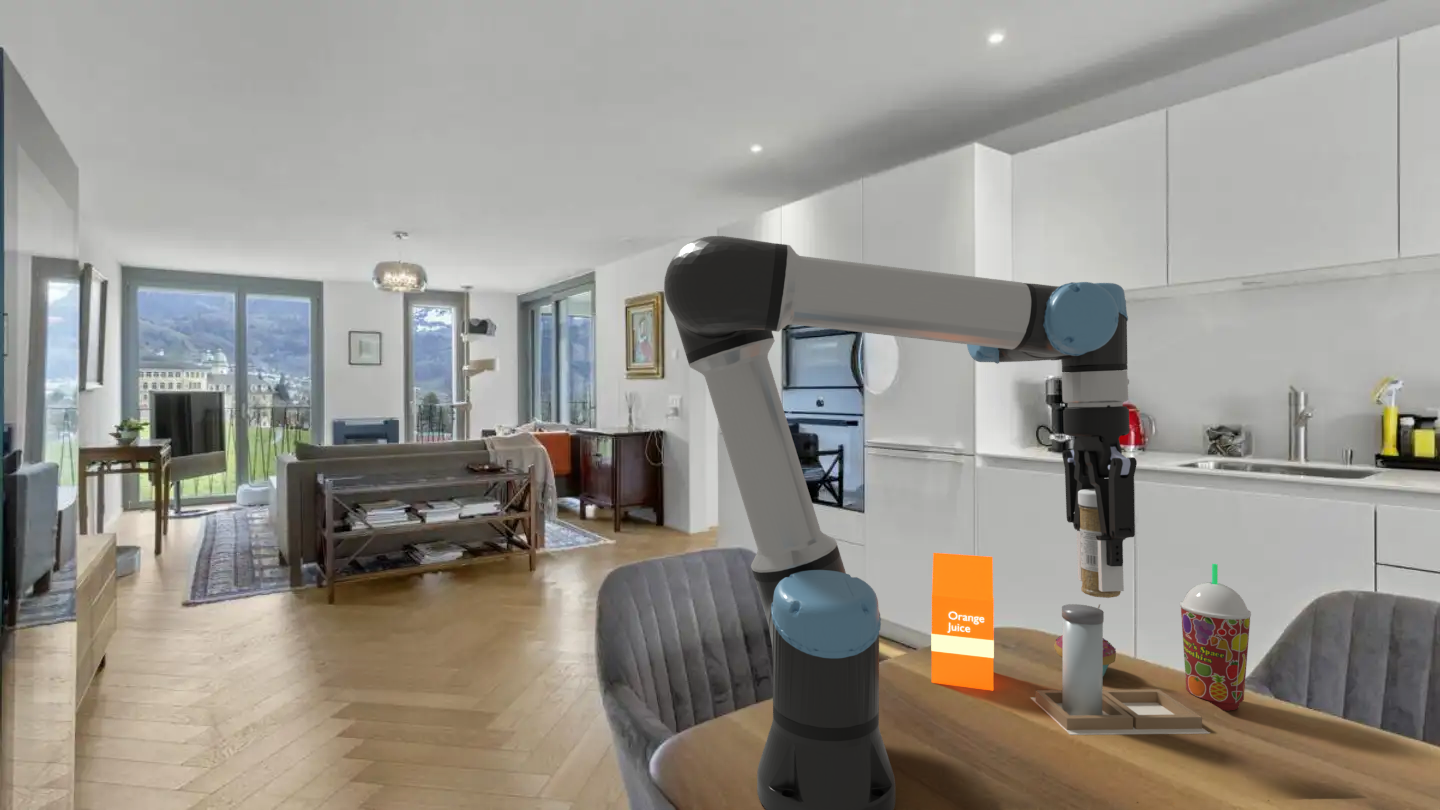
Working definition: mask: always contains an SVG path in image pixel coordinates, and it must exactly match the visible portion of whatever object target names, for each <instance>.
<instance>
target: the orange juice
mask: <svg viewBox="0 0 1440 810" xmlns="http://www.w3.org/2000/svg"><path fill="white" fill-rule="evenodd" d="M932 556H933V558H932V578H931V579H932V585H931V588H932V589H931V634H930V636H931V638H930V640H931V642H930V643H931V644H930V645H931V648H930V649H931V684H932V683H933V684H939V685H947V686H954V687H962V688H963V687H964V688H969V689H977V690H978V689H979V690H984V691H992V692H993V691H994V658H995V653H994V652H995V640H994V639H995V638H994V635H995V633H994V632H995V626H994V625H995V624H994V621H995V619H994V617H995V610H994V608H995V607H994V606H995V605H994V604H995V600H994V576H993V575H994V567H993V565H994V562H993V556H985V555H983V556H982V555H972V554H971V555H970V554H958V553H957V554H956V553H943V552H941V553H940V552H933V553H932Z"/></svg>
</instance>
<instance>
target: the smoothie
mask: <svg viewBox="0 0 1440 810" xmlns="http://www.w3.org/2000/svg"><path fill="white" fill-rule="evenodd" d="M1218 571H1219V569H1218V564H1217V563H1212V564H1211V581H1210V582H1202V583H1199V584H1197V585H1195V586H1193V587H1192V588H1190V589H1189V590H1188V591H1187V592H1186V594H1185V596H1184V598H1183V600H1181V601H1180V602H1179V607H1180V613H1181V614H1180V616H1181V630H1182V631H1181V632H1182V643H1183V661H1184V672H1185V690H1186V691H1187V692H1189V693H1190V694H1191V695H1193V696H1195V697H1196V698H1200V699H1202V700H1205V701H1207V702H1208V703H1210V704H1211V705H1213V706H1215V707H1217V708H1218V709H1220V710H1222V711H1224V710H1225V712H1227V711H1230V710H1231V711H1234V710H1238V709H1239V707H1240V703H1242V702H1243V701H1244V699H1245V690H1246V689H1245V688H1246V675H1247V665H1248V663H1247V662H1248V650H1249V639H1250V627H1251V626H1250V625H1251V616H1252V611H1250V610H1249V609H1248V608H1247V605H1246V603H1245V601H1244V599H1243V597H1241V596H1240V594H1239V593H1238V592H1237V591H1235V590H1234V589H1232V588H1231V587H1229V586H1228V585H1226V584H1223V583H1219V582H1218V580H1219V579H1218V578H1219V577H1218Z"/></svg>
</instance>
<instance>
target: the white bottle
mask: <svg viewBox="0 0 1440 810" xmlns="http://www.w3.org/2000/svg"><path fill="white" fill-rule="evenodd" d="M1104 613H1105V612H1104V611H1103V610H1102V609H1101V608H1099V609H1098V607H1095V606H1091V605H1087V604H1077V603H1075V604H1074V603H1072V604H1071V603H1069V604H1065V605H1062V606H1061V617H1062V635H1063V659H1062V668H1061V669H1062V675H1061V676H1062V678H1061V679H1062V681H1061V682H1062V684H1061V685H1062V689H1061V690H1062V709H1063V710H1064V711H1065V712H1067V713H1068V714H1069V715H1070V716H1071V715H1102V690H1104V689H1103V686H1104V685H1103V681H1104V680H1103V678H1104V676H1103V638H1104V636H1103V633H1104V630H1103V628H1104V625H1103V624H1104V617H1105V616H1104Z"/></svg>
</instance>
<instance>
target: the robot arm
mask: <svg viewBox="0 0 1440 810" xmlns="http://www.w3.org/2000/svg"><path fill="white" fill-rule="evenodd" d="M663 283H664V284H663V290H664V298H665V301H666V304H667V306H668V310H669V311H670V312H671V314H672V316H673V319H674V321H675V324H676V328H677V331H678V333H679V334H678V335H679V337H680V339H681V340H680V341H681V344H682V347H683V350H684V353H685V354H684V355H685V356H686V360H687V362H688V366H689V368H691V369H693V370H695V371H696V372H698V373H700V374H701V375H702V376H703V377H704V378H705V382H706V386H707V389H708V393H709V395H710V399H711V401H712V405H713V407H714V411H715V415H716V418H717V422H718V425H719V428H720V431H721V434H722V437H723V441H724V445H725V447H726V450H727V453H728V456H729V461H730V463H731V467H732V470H733V473H734V477H735V479H736V482H737V487H738V489H739V493H740V496H741V499H742V502H743V506H744V510H745V513H746V515H747V518H748V522H749V525H750V528H751V529H750V530H751V533H752V535H753V539H754V542H755V545H756V548H757V551H756V554H755V556H754V558H753V560H752V562H751V564H750V568H751V571H752V574H753V577H754V581H755V584H756V588H757V590H758V591H757V592H758V594H759V597H760V601H761V604H762V608H763V611H764V612H763V613H764V614H765V618H766V622H767V625H768V630H769V636H770V643H771V647H772V648H771V649H772V723H771V725H770V729H769V732H768V735H767V738H766V741H765V745H764V746H763V750H762V753H761V756H760V760H759V762H758V766H757V775H756V780H757V781H756V782H757V783H756V784H757V788H756V791H757V796H758V797H757V798H758V800H759V801H760V804H761V805H762V806H763V808H764V809H765V810H894V809H895V807H896V780H895V775H894V772H893V768H892V765H891V763H890V759H889V756H888V753H887V750H886V747H885V743H884V740H883V737H882V733H881V730H880V723H879V721H880V718H879V717H880V712H879V711H880V631H881V625H882V623H881V621H882V618H881V613H880V610H879V608H880V607H879V599H878V596H877V594H876V592H875V590H874V588H872V587H871V585H870V584H869V583H867V582H866V581H864V580H863V579H861V578H859V577H858V576H855V577H854V576H851V574H849V573H846V572H847V571H846V569H845V566H844V562H843V559H842V556H841V552H840V550H839V546H838V543H837V541H836V539H835V538H833V537H831V536H829V535H827V534H825V533H823V532H822V529H821V528H820V524H819V521H818V518H817V514H816V511H815V509H814V504H813V501H812V498H811V495H810V492H809V489H808V485H807V481H806V478H805V475H804V471H803V469H802V466H801V462H800V459H799V456H798V453H797V449H796V446H795V443H794V440H793V436H792V432H791V430H790V427H789V422H788V420H787V417H786V412H785V409H784V407H783V406H784V405H783V403H782V400H781V397H780V393H779V391H778V388H777V384H776V381H775V378H774V375H773V371H772V367H771V364H770V361H769V358H768V357H769V356H768V355H769V353H770V350H771V348H772V347H773V345H774V343H775V337H774V335H773V334H774V333H773V332H777V333H778V332H780V331H782V330H783V329H784V328H785V327H786V326H789V325H796V326H802V327H803V326H805V327H811V328H812V327H813V328H820V329H821V328H822V329H831V330H838V331H847V332H857V333H865V334H866V333H867V334H874V335H875V334H876V335H883V336H891V337H901V338H909V339H916V340H927V341H935V342H944V343H945V342H946V343H953V344H961V345H963V344H964V345H966V347H967V351H968V352H969V356H970V357H971V358H972V360H974V361H975V362H978V363H995V364H996V365H997V364H1000V363H1018V362H1020V363H1021V362H1039V361H1060V360H1061V361H1060V362H1061V391H1062V392H1061V393H1062V394H1061V395H1062V396H1061V397H1062V402H1063V403H1064V404H1067V407H1065V408H1064V409H1063V410H1062V412H1063V413H1062V416H1063V418H1062V419H1063V420H1062V421H1063V423H1062V424H1063V433H1064V434H1065V435H1066V436H1067V437H1069V436H1071V437H1074V442H1073V449H1071V450H1069V449H1067V450H1063V451H1062V454H1061V455H1062V460H1063V461H1062V462H1063V464H1064V477H1065V478H1064V479H1065V481H1064V484H1065V507H1066V511H1065V513H1066V521H1067V522H1068V523H1070V524H1071V523H1072V524H1073V528H1074V530H1075V531H1076V546H1077V547H1076V548H1077V551H1076V552H1077V553H1076V554H1077V577H1078V578H1077V580H1078V581H1080V582H1082V568H1081V549H1080V508H1079V504H1078V491H1079V490H1083V489H1095V493H1096V497H1097V506H1098V513H1099V520H1100V527H1101V534H1102V535H1100V536H1096V538H1097V540H1098V576H1099V590H1100V591H1102V592H1107V591H1121V592H1124V591H1125V590H1124V589H1125V587H1124V552H1123V551H1124V549H1123V547H1124V546H1123V545H1124V544H1123V543H1124V540H1126V539H1129V538H1134V537H1135V535H1136V528H1135V527H1136V525H1135V524H1136V519H1135V517H1136V515H1135V475H1136V471H1137V470H1136V469H1137V459H1136V458H1135V457H1132V456H1130V457H1126V456H1125V455H1123V454H1122V452H1123V451H1122V446H1121V444H1120V443H1121V442H1120V437H1124V436H1126V435H1128V434H1130V429H1131V428H1130V408H1128V406H1126V405H1125V406H1124V405H1123V404H1124V403H1126V402H1127V401H1128V400H1129V387H1128V386H1129V384H1130V379H1129V378H1128V377H1129V376H1128V321H1129V316H1128V313H1127V300H1126V298H1125V297H1126V296H1125V291H1124V289H1123V287H1122V286H1121V285H1119V284H1117V283H1114V282H1095V283H1094V282H1089V281H1081V282H1080V281H1079V282H1069V283H1065V284H1062V285H1059V286H1057V285H1047V284H1040V283H1039V284H1038V283H1027V282H1022V281H1021V282H1020V281H1014V280H1007V279H1005V280H1004V279H996V278H988V277H979V276H972V275H971V276H970V275H963V274H953V273H947V272H946V273H945V272H937V271H930V270H929V271H928V270H923V269H922V270H921V269H913V268H905V267H904V268H903V267H896V266H887V265H881V264H878V265H877V264H871V263H865V262H864V263H862V262H855V261H854V262H853V261H847V260H838V259H830V258H829V259H828V258H823V257H820V258H819V257H812V256H804V255H799V254H798V253H796V251H795V250H794V249H793V247H792V246H791V245H789V244H785V243H783V244H782V243H777V242H776V243H774V242H768V241H762V240H754V239H747V238H740V237H734V236H726V235H725V236H724V235H711V236H709V235H708V236H703V237H700V238H697V239H694V240H693V241H691V242H689V243H687V244H685V245H684V246H683V247H681V248H680V249H679V250H678V251H677V252H676V254H675V255H674V256H673V257H672V259H671V261H670V263H669V264H668V267H667V268H666V272H665V275H664V282H663Z"/></svg>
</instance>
